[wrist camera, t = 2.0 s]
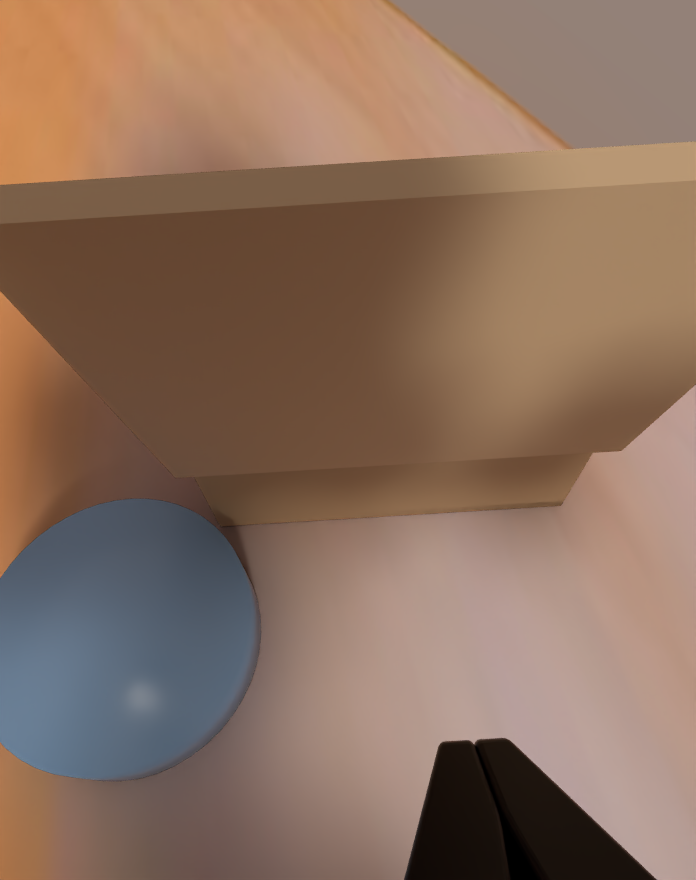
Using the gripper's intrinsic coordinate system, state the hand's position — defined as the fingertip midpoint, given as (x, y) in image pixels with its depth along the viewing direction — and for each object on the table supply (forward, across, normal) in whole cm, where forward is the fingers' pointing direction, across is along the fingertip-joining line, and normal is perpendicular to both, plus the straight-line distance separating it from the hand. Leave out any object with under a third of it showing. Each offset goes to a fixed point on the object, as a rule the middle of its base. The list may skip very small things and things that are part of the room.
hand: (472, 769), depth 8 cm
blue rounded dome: (+12, +8, +5) cm, 15 cm away
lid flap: (+6, 0, -4) cm, 7 cm away
